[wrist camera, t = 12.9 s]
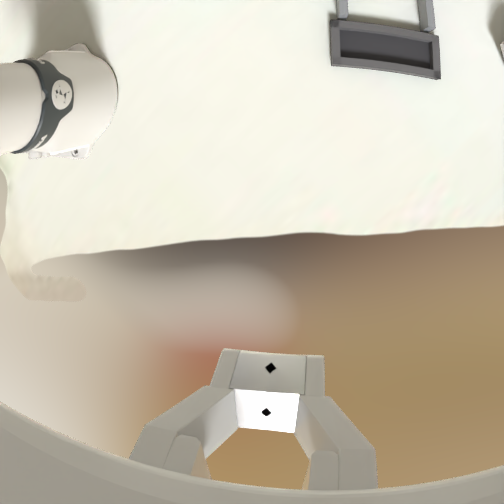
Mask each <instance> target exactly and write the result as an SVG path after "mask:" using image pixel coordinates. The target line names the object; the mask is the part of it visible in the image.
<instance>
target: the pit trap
mask: <svg viewBox="0 0 504 504" xmlns="http://www.w3.org/2000/svg"><path fill="white" fill-rule="evenodd" d="M330 38H331V66H340V67H352V68H363V69H372V70H381V71H388V72H395V73H402V74H408V75H414V76H420V77H425V78H430V79H435V80H438V79H441V71H440V48H439V36H437V35H433V34H428V33H424V32H419V31H414V30H409V29H404V28H398V27H392V26H386V25H379V24H371V23H363V22H353V21H342V20H330Z"/></svg>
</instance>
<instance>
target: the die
mask: <svg viewBox="0 0 504 504" xmlns="http://www.w3.org/2000/svg"><path fill="white" fill-rule="evenodd" d="M500 46H501V50H502V54H503V58H504V41H503V42H502V43H501V44H500Z"/></svg>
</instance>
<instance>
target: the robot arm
mask: <svg viewBox="0 0 504 504" xmlns="http://www.w3.org/2000/svg"><path fill="white" fill-rule="evenodd" d="M117 96H118V91H117V83H116V79H115V76H114V73H113V71H112V69H111V68H110V66H109V65H108V64H107V63H106V62H105V61H104V60H102V59H101V58H99V57H97V56H95V55H93V54H91V53H90V51H89V50H88V48H87V47H86V46H85V45H84V44H82V43H77V44H75V45H73V46H71V47H70V48H68V49H66V50H65V51H47V52H46V53H45V54H44V55H42V56H41V57H39V58H38V59H35V58H28V59H23V60H18V61H15V62H13V63H0V156H1V155H4V154H7V153H14V154H16V153H25V152H26V153H28V157H29V159H37V158H41V157H49V156H56V157H64V158H73V159H86V158H88V157H89V155H90V153H91V151H92V149H93V146H94V143H95V142H96V140H97V139H98V138H99V137H100V136H101V135H102V134H103V133H104V132H105V130H106V129H107V127H108V126H109V124H110V122H111V120H112V118H113V116H114V113H115V109H116V105H117ZM77 150H78V153H77ZM324 371H325V369H324V356H323V355H307V356H306V355H293V354H276V353H264V352H254V351H245V350H234V349H227V348H225V349H223V351H222V352H221V355H220V358H219V361H218V364H217V367H216V369H215V372H214V375H213V378H212V381H211V383H210V386H203V387H202V388H200V389H199V390H198V391H196V392H195V393H193V394H192V395H190V396H189V397H187V398H186V399H184V400H183V401H181V402H180V403H178V404H177V405H175V406H174V407H172V408H170V409H169V410H167V411H166V412H164V413H163V414H161V415H160V416H158V417H156V418H155V419H153V420H152V421H150V422H149V423H147V424H146V425H145V426H144V428H143V430H142V432H141V434H140V436H139V438H138V440H137V442H136V444H135V446H134V449H133V451H132V453H131V455H130V457H129V459H127V458H124V457H121V456H118V455H115V454H112V453H109V452H107V451H104V450H101V449H98V448H96V447H93V446H90V445H88V444H85V443H83V442H80V441H78V440H76V439H73V438H71V437H69V436H66V435H64V434H62V433H59V432H57V431H55V430H53V429H51V428H49V427H47V426H44V425H42V424H40V423H38V422H36V421H34V420H33V419H30V418H28V417H27V416H25V415H23V414H21V413H19V412H17V411H16V410H14V409H12V408H10V407H8V406H7V405H5V404H3V403H2V402H0V504H504V465H502V466H498V467H495V468H492V469H488V470H485V471H481V472H477V473H473V474H469V475H465V476H460V477H455V478H451V479H446V480H440V481H435V482H429V483H423V484H415V485H408V486H400V487H390V488H378V480H377V466H376V453H375V448H374V447H373V446H372V445H371V444H370V443H369V442H368V440H367V439H366V438H365V437H364V436H363V435H362V433H361V432H360V431H359V430H358V429H357V428H356V427H355V425H354V424H353V423H352V422H351V421H350V420H349V418H348V417H347V416H346V415H345V414H344V413H343V411H342V410H341V409H340V408H339V407H338V406H337V404H336V403H335V402H334V401H333V400H332V398H331V397H329V396H325V372H324ZM238 427H243V428H253V429H266V430H274V431H284V432H294V435H295V436H296V438H297V440H298V441H299V443H300V445H301V447H302V448H303V450H304V452H305V454H306V455H307V457H308V458H309V460H310V462H309V466H308V470H307V473H306V476H305V480H304V484H303V487H302V490H296V489H281V488H270V487H260V486H251V485H243V484H236V483H229V482H223V481H217V480H212V479H211V476H210V472H209V469H208V466H207V462H206V458H207V457H208V456H209V455H210V454H211V453H212V452H214V451H215V450H216V449H217V448H218V447H219V446H220V445H221V444H222V443H223V442H224V441H225V440H226V439H227V438H229V437H230V435H232V434H233V433H234V432H235V431H236V430H237V428H238Z"/></svg>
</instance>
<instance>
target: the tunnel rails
mask: <svg viewBox="0 0 504 504" xmlns="http://www.w3.org/2000/svg"><path fill="white" fill-rule="evenodd" d="M336 2H337V18H338V20H345V21H346V18H347V16H348V0H336ZM418 9H419V19H420V30H421V32H425V33H428V32H430V31H432V30H434V29H435V28H436V27H435V17H434V8H433V0H418Z"/></svg>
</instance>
